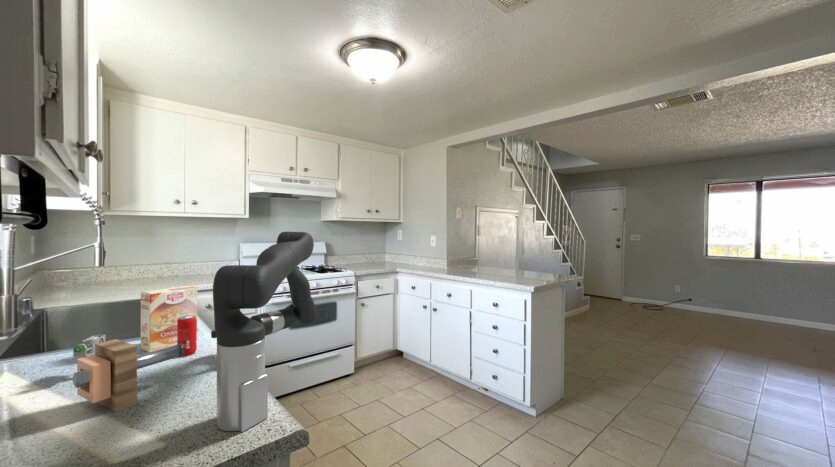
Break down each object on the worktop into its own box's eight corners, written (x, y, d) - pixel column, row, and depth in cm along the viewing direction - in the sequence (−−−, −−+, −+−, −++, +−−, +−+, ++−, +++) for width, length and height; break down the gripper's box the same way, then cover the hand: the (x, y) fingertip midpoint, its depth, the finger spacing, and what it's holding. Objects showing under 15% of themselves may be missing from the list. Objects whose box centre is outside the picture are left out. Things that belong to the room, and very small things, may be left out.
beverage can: (173, 355, 111) (173, 317, 110) (190, 350, 115) (190, 314, 115) (183, 358, 108) (183, 320, 108) (200, 352, 113) (199, 316, 113)
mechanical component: (70, 384, 90) (70, 346, 90) (95, 368, 100) (95, 334, 99) (84, 383, 91) (84, 345, 90) (107, 367, 100) (107, 333, 100)
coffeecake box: (149, 353, 112) (149, 293, 111) (139, 349, 115) (139, 291, 115) (198, 340, 125) (198, 286, 124) (187, 337, 128) (187, 285, 128)
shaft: (177, 354, 94) (177, 342, 94) (184, 357, 92) (184, 344, 92) (72, 386, 75) (72, 370, 75) (79, 389, 74) (79, 374, 74)
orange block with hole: (110, 397, 77) (110, 361, 77) (93, 403, 74) (92, 366, 74) (94, 389, 80) (94, 354, 80) (77, 394, 78) (77, 359, 78)
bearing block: (136, 403, 80) (136, 345, 80) (115, 411, 77) (115, 351, 76) (116, 393, 85) (116, 339, 85) (95, 401, 81) (95, 343, 81)
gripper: (252, 310, 121) (206, 321, 106) (281, 315, 114) (235, 328, 100) (252, 331, 121) (206, 345, 106) (281, 338, 114) (235, 354, 100)
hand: (220, 337), depth 103 cm, fingers open, 8 cm apart
